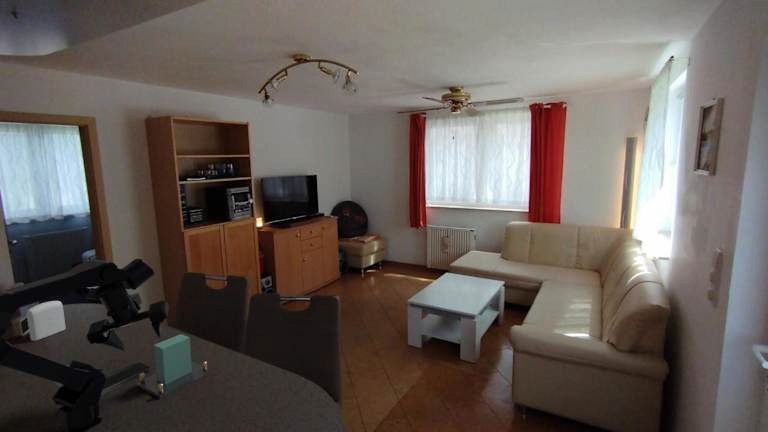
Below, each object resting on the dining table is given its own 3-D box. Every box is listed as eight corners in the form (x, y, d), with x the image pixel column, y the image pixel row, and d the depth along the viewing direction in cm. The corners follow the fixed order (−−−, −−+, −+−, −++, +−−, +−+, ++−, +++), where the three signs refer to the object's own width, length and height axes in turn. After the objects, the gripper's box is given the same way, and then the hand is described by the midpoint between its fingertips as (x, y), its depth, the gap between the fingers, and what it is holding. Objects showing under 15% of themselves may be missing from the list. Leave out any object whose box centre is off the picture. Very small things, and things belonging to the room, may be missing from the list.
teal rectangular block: (165, 384, 104) (162, 348, 102) (156, 380, 106) (153, 345, 104) (191, 371, 111) (189, 337, 109) (183, 367, 113) (181, 334, 111)
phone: (152, 368, 112) (95, 394, 99) (152, 371, 113) (96, 398, 100) (137, 361, 116) (81, 386, 103) (138, 364, 116) (82, 389, 103)
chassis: (160, 398, 99) (159, 387, 99) (137, 385, 105) (136, 374, 104) (210, 372, 112) (209, 361, 112) (187, 361, 118) (187, 351, 117)
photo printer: (34, 342, 129) (30, 309, 128) (27, 339, 131) (23, 307, 129) (68, 329, 139) (64, 299, 137) (61, 328, 140) (57, 297, 139)
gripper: (159, 273, 105) (179, 313, 112) (84, 296, 99) (110, 336, 106) (155, 295, 96) (177, 337, 103) (72, 322, 90) (102, 364, 97)
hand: (142, 342), depth 103 cm, fingers open, 9 cm apart
